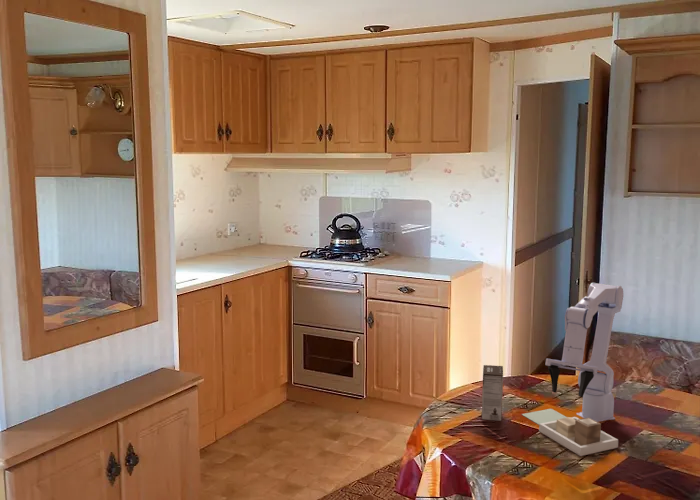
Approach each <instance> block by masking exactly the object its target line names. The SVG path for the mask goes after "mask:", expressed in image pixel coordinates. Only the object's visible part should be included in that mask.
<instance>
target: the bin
mask: <svg viewBox="0 0 700 500" xmlns="http://www.w3.org/2000/svg"><path fill="white" fill-rule="evenodd" d="M571 418H572V419H574V420H579V419H580V418H579V417H577V416H572V417H571ZM556 425H557V420H556V421H551V422H546V423H541V424H539V425H538V427H539V429H538V432H539V433H542V434H543V435H545V436H546V437H548V438H549V439H551V440H553V441H554V442H556V443H558V444H559V445H561V446H562V447H564V448H566V449H568V450H569V451H571V452H572V453H574V454H576V455H577V456H579V457H583V456H586V455H591V454H594V453H601V452H603V451H608V450H613V449H617V448H619V438H616V437H614V436H612V435H610V434H609V433H606V432H605V431H603V430H601V433H600V442H596V443H592V444H587V445H583V446H580V445H579V444H577V443H575V442H574V439H575V437H572V438H566V437H565V436H563V435H561V434H560V433H558V432H556Z"/></svg>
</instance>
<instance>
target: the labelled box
mask: <svg viewBox="0 0 700 500" xmlns="http://www.w3.org/2000/svg"><path fill="white" fill-rule="evenodd" d="M601 426H602V423H600V422H596V421H595V420H593V419H591V418H579V420H576V421H575V439H574V442H575V443H577V444H579V445H580V446H583V445H587V444H592V443H596V442H600V433H601V431H602V430H601V429H602V427H601Z"/></svg>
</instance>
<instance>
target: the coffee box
mask: <svg viewBox="0 0 700 500" xmlns="http://www.w3.org/2000/svg"><path fill="white" fill-rule="evenodd" d="M482 369H483V370H482V372H483V373H482V389H481V390H482V391H481V392H482V396H481V402H482V403H481V420H488V421H500V422H501V421H502V416H503V415H502V413H503V411H502V409H503V391H504V390H503V389H504V387H503V386H504V366H503V365H490V364H489V365H488V364H484V365H483V368H482Z"/></svg>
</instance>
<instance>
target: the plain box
mask: <svg viewBox="0 0 700 500" xmlns="http://www.w3.org/2000/svg"><path fill="white" fill-rule="evenodd" d="M566 417H567V418H562V419H557V425H556V432H558V433H560V434H561V435H563V436H565V437H566V438H572V437H575V421H576V420H574V419H572V418H571V417H569V416H566Z"/></svg>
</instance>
